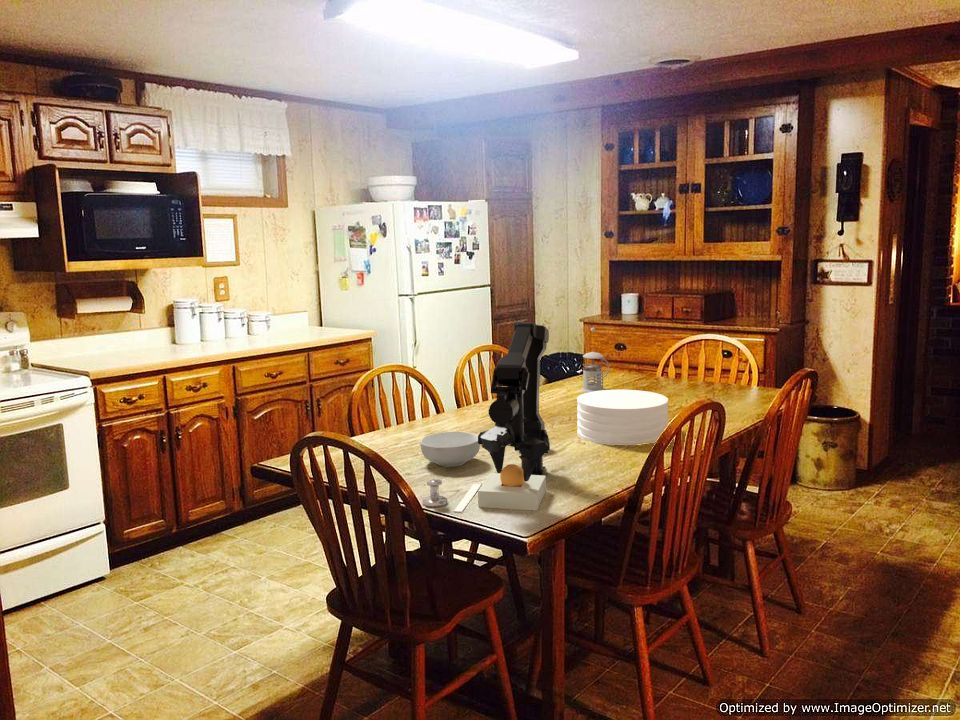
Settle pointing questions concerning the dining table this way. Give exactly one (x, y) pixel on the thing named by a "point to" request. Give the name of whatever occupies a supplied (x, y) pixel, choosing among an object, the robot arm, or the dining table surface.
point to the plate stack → (621, 416)
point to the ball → (512, 475)
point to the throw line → (467, 498)
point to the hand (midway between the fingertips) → (512, 477)
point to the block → (512, 493)
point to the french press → (593, 373)
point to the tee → (434, 495)
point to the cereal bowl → (450, 448)
